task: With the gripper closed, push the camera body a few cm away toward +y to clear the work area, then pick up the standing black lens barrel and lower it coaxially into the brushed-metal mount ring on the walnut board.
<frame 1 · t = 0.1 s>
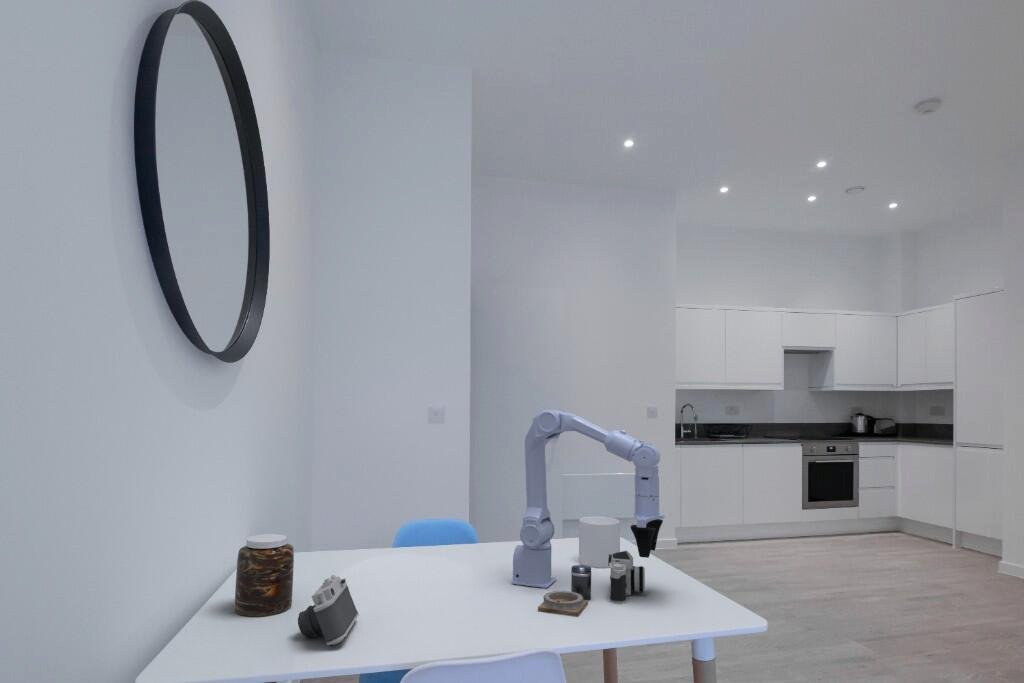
hand: (647, 553, 145), 10 cm above the table, fingers open, 7 cm apart
cup: (599, 563, 175), on the table
mount: (563, 607, 136), on the table
jar: (263, 609, 134), on the table
camera: (626, 595, 147), on the table
camera 2: (326, 635, 119), on the table
lens: (581, 598, 143), on the table
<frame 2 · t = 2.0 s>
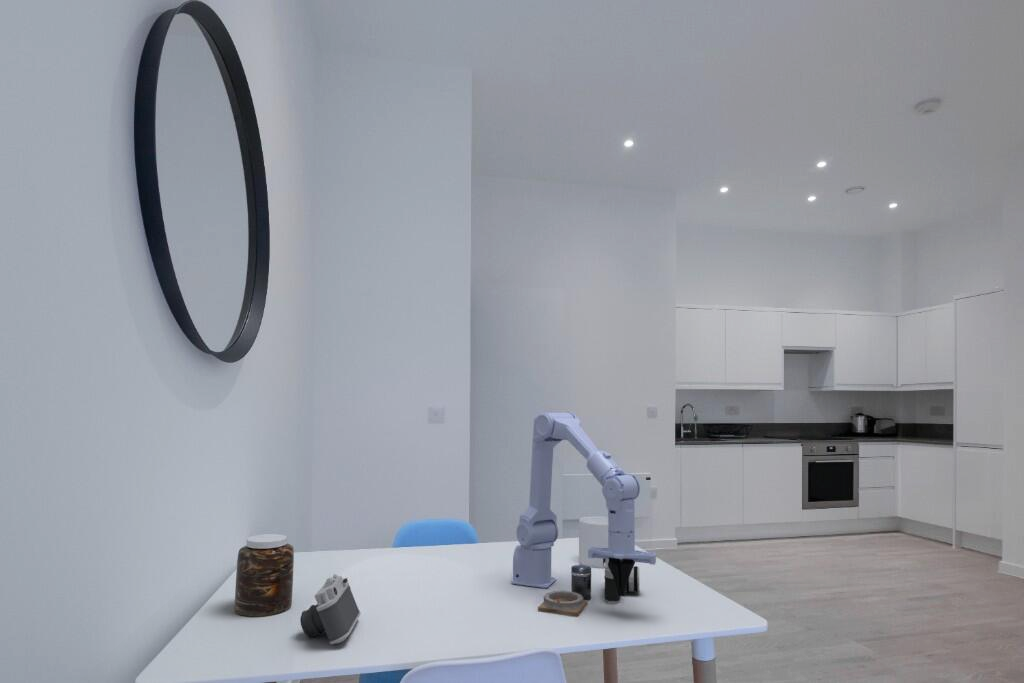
hand: (621, 594, 132), 4 cm above the table, fingers closed
camera: (621, 595, 147), on the table
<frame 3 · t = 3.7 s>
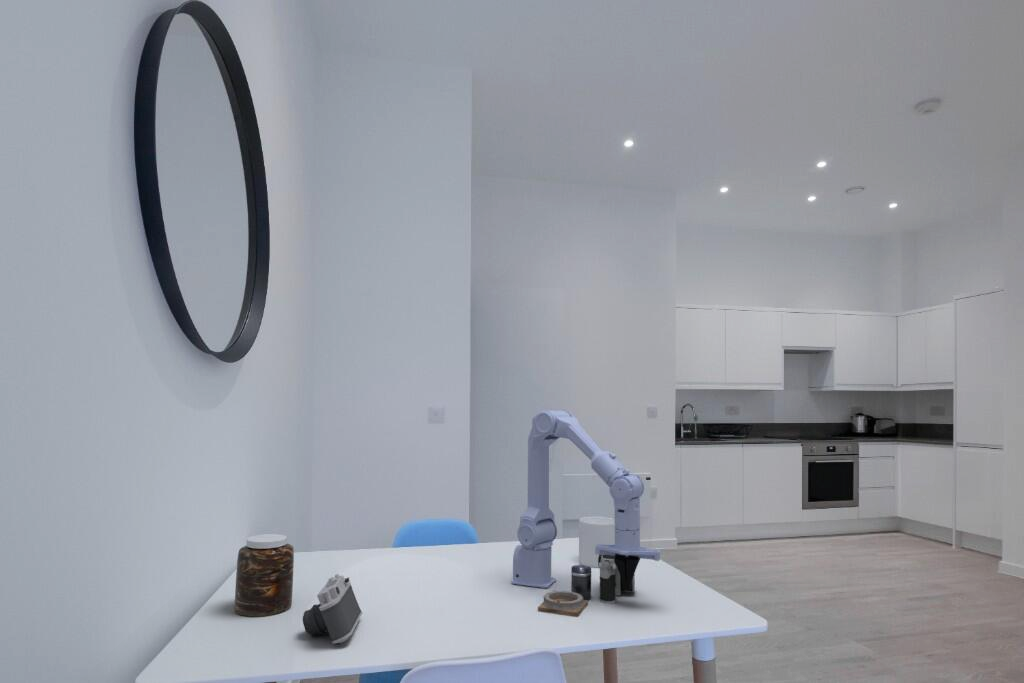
hand: (627, 589, 139), 3 cm above the table, fingers closed
camera: (616, 595, 147), on the table
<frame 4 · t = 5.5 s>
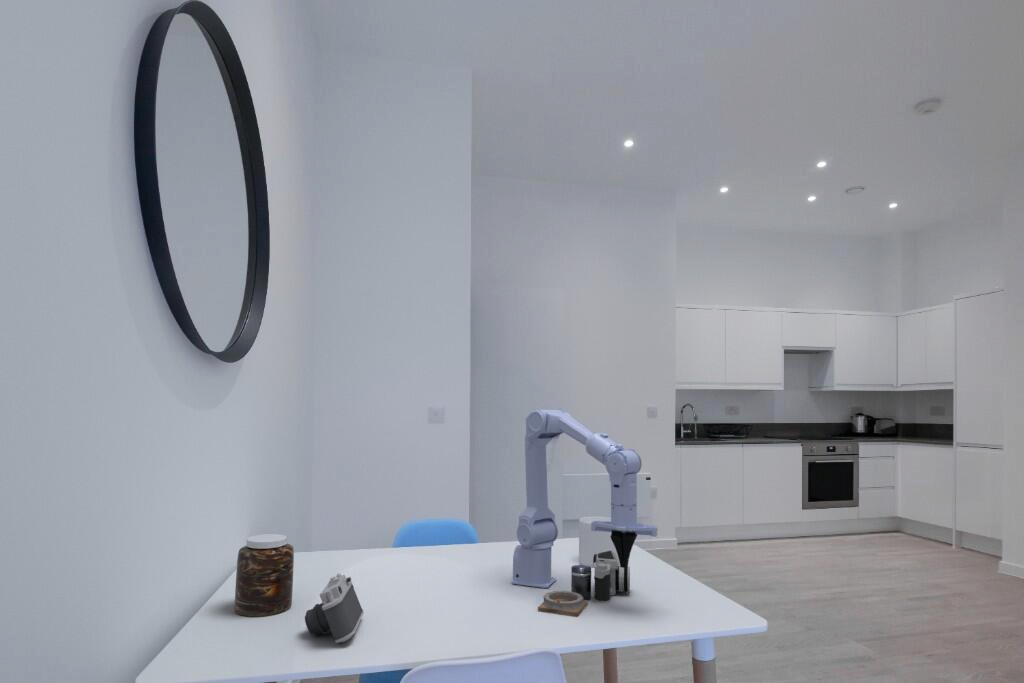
hand: (624, 566, 136), 9 cm above the table, fingers closed
camera: (611, 595, 147), on the table
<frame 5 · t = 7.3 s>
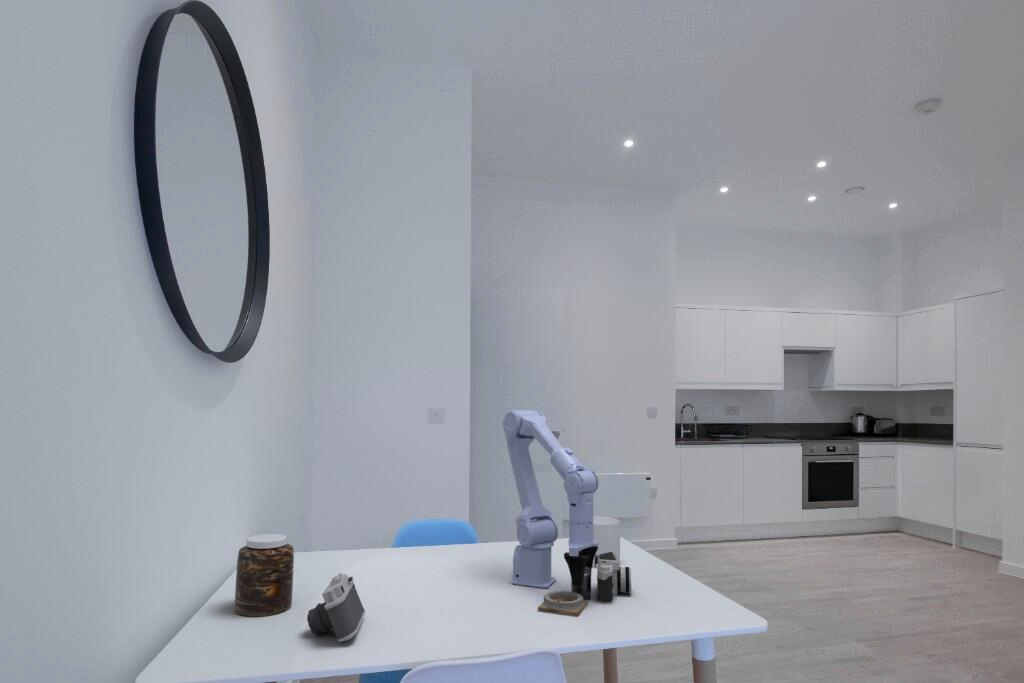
hand: (581, 581, 143), 4 cm above the table, fingers open, 7 cm apart
camera: (612, 596, 146), on the table, touching gripper
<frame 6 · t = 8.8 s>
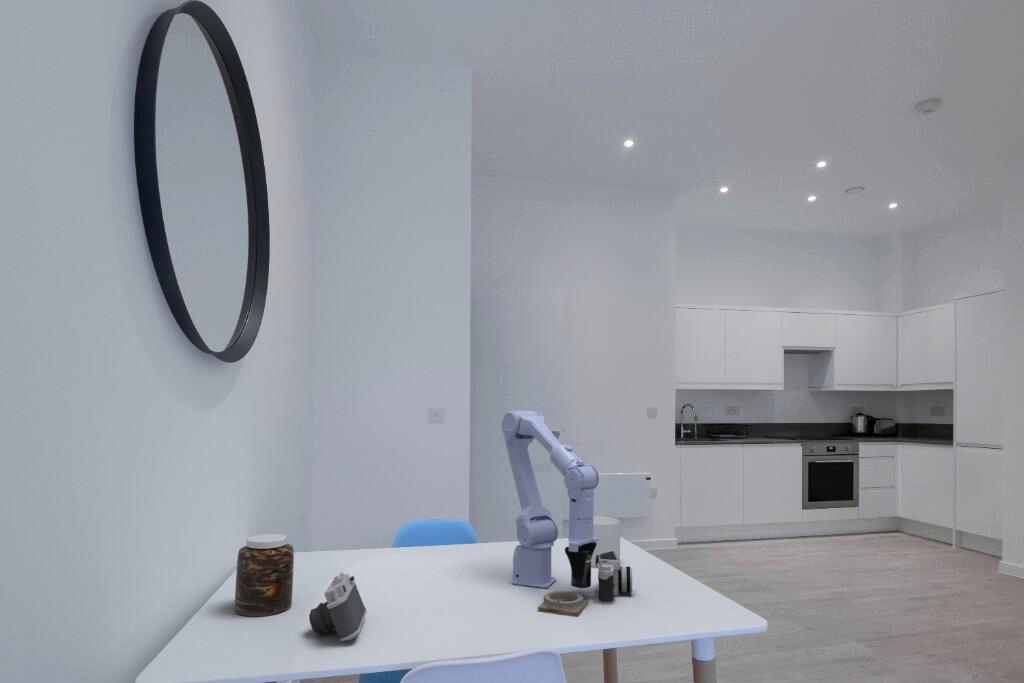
hand: (580, 576, 144), 5 cm above the table, fingers closed on lens, 5 cm apart
camera: (613, 595, 146), on the table
lens: (581, 585, 143), point 3 cm above the table, touching gripper
when the fingers open (4 cm above the table, at t = 11.0 s): lens stays where it is, resting on mount.
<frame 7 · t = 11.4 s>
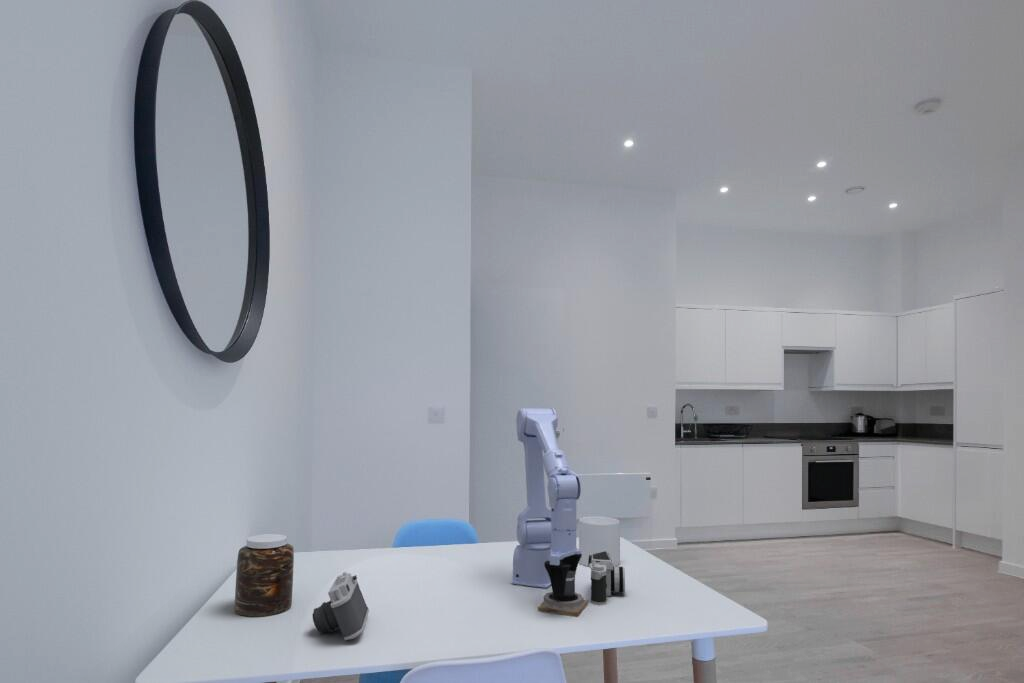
hand: (563, 590, 137), 4 cm above the table, fingers open, 7 cm apart
camera: (606, 596, 146), on the table
lens: (564, 603, 136), point 1 cm above the table, touching mount
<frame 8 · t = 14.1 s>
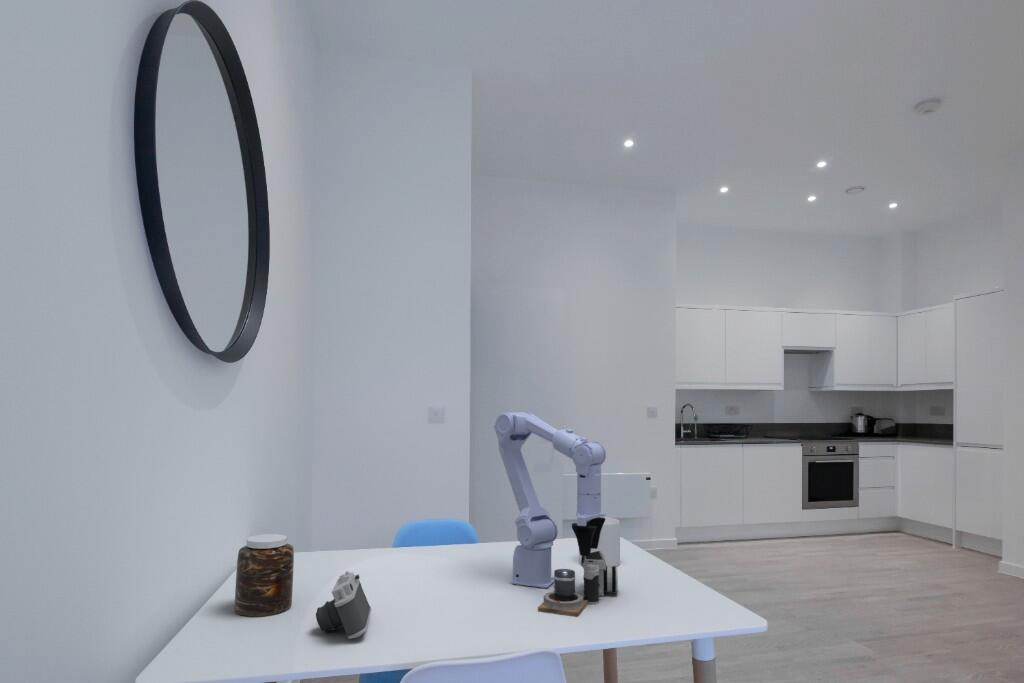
hand: (589, 551, 145), 10 cm above the table, fingers open, 7 cm apart
camera: (599, 595, 146), on the table, touching mount
at the end: lens 0.3 cm off-centre on the mount, point 0.8 cm above the mount's base; lens tilted 0°; camera moved 6.9 cm from its start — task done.
